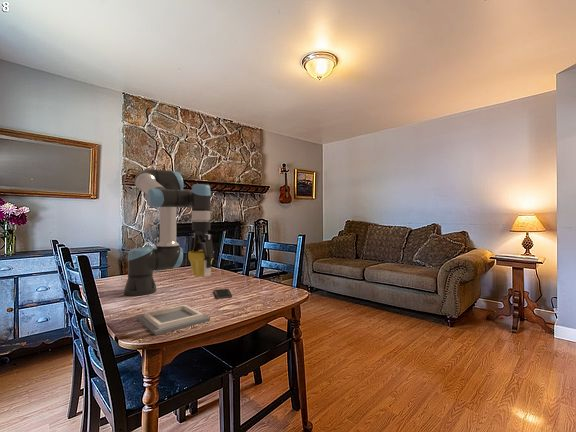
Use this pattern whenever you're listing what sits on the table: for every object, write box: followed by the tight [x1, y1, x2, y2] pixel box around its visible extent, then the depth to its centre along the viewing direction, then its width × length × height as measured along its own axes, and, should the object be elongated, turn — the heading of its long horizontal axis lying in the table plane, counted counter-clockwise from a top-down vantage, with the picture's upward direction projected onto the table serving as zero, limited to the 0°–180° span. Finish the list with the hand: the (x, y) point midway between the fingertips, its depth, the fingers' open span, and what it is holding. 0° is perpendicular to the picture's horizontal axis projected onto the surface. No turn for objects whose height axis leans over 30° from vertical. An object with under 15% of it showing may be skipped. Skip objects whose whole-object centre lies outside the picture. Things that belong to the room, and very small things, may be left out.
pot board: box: [137, 304, 211, 336], centre depth 113 cm, size 20×20×2 cm
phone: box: [213, 288, 233, 300], centre depth 150 cm, size 8×1×15 cm
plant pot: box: [187, 249, 215, 277], centre depth 124 cm, size 10×10×10 cm
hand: (201, 273), depth 124 cm, fingers closed on plant pot, 10 cm apart
